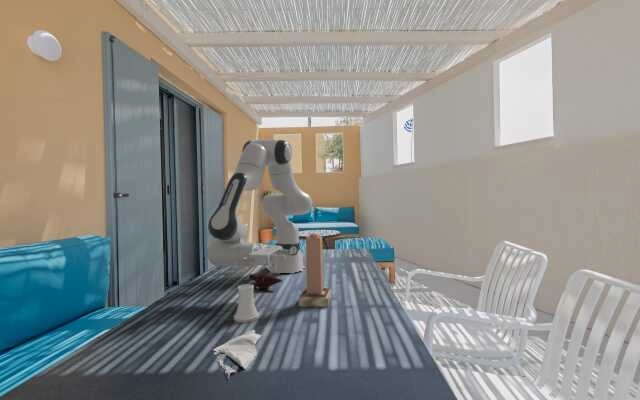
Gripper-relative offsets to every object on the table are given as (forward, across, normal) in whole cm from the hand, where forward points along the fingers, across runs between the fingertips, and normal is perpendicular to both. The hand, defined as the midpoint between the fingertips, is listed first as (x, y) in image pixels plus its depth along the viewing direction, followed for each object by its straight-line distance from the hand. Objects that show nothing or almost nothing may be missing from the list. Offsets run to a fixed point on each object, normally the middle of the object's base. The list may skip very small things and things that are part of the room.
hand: (288, 254), depth 122 cm
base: (+10, 0, +17) cm, 19 cm away
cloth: (-3, -40, +18) cm, 43 cm away
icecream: (-14, +15, +17) cm, 26 cm away
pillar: (+10, 0, +14) cm, 17 cm away
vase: (-9, -18, +17) cm, 26 cm away
